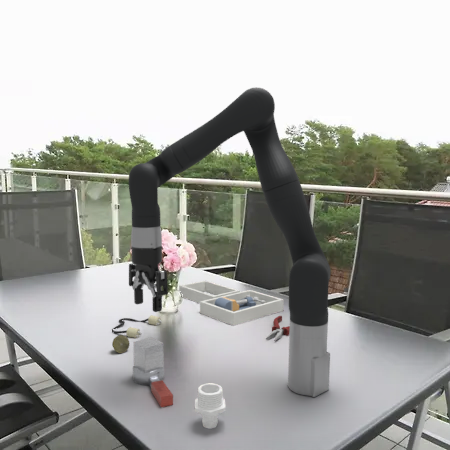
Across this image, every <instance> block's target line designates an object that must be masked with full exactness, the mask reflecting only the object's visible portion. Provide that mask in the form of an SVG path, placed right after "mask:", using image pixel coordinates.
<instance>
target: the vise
mask: <svg viewBox="0 0 450 450" xmlns="http://www.w3.org/2000/svg"><path fill="white" fill-rule="evenodd" d="M255 301H259V302H261V303H262V304H264V303H265V301H264V300H262V301H261V300H258V297H250V295H246V298H244V299H241V300H239V301H235V300H234V299H233V300H231V299H229V298H226V297H220V298H217V299H216V301H215V305H216V306H218V307H221V308H224V309H227V310H230V311H233V312H235V311H238V310H242V309H246V308H249V307H253V306H257V304H256V302H255Z"/></svg>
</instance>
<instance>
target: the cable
mask: <svg viewBox="0 0 450 450" xmlns="http://www.w3.org/2000/svg"><path fill="white" fill-rule="evenodd" d="M122 320H123V321H122ZM125 321H130V322H135V323H137V322H138V323H145V322H148V324H149V325H152V326H159V325H160V324H163V321H162V319H161V317H160V316H156V315H150V316H148V318H145V319H143V320H137V319H134V318H128V317H123V318H120V319H119V320H118V322H119V324H118V325H116V326H114V327H112V329H111V330H112V333H113V332H114V333H113V334H126V337H127V336H128V337H127V338H132V337H134V338H133V339H137V338H139V337H140V336H142V333H141V330H140V328H135V327H131V326H129V327H128V328H127V329H126V330H119V331H117V330H116V328H117V329H118V328H120V327H122V326H123V325H124V324H125ZM113 329H115V330H113ZM136 337H137V338H136Z"/></svg>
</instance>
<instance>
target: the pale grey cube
mask: <svg viewBox="0 0 450 450" xmlns="http://www.w3.org/2000/svg"><path fill="white" fill-rule="evenodd" d="M164 361H165V360H164V342H162V341H160V340H158V339H157V338H155V337H152V336H150V337H148V338H143V339H140V340H136V341H133V366H134V367H136V368H137V369H139V370H141V371H142V372H144V373H148V372H151V371H154V370H157V369H160V368H163V367H164V368H165V364H164Z"/></svg>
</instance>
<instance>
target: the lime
mask: <svg viewBox="0 0 450 450" xmlns="http://www.w3.org/2000/svg"><path fill="white" fill-rule="evenodd" d="M111 343H112V348H113V349H114V351H115V352H116V353H118V354H123V353H126V352H127V351H128V349H129V348H130V340H129V337H127V336H126V335H124V334H119V335H117V336H115V337H114V338H113V340H112V342H111Z"/></svg>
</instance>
